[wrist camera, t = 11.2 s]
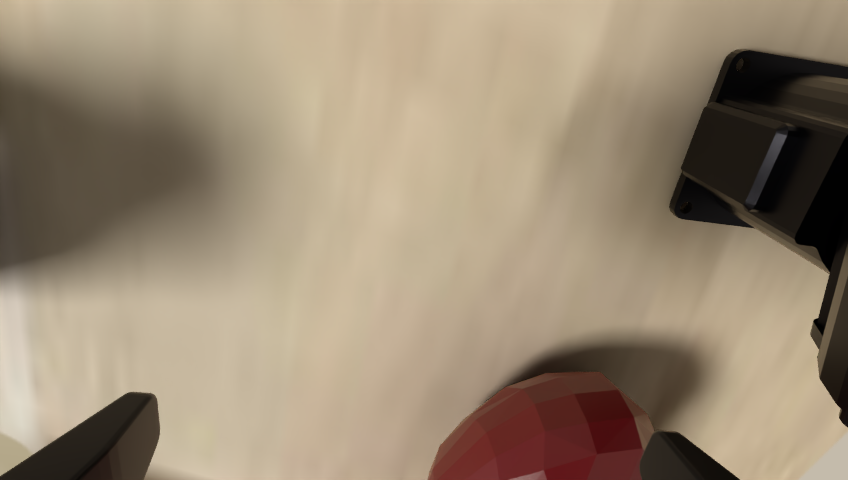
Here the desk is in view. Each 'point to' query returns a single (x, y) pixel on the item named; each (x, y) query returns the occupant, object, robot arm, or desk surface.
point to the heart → (549, 433)
